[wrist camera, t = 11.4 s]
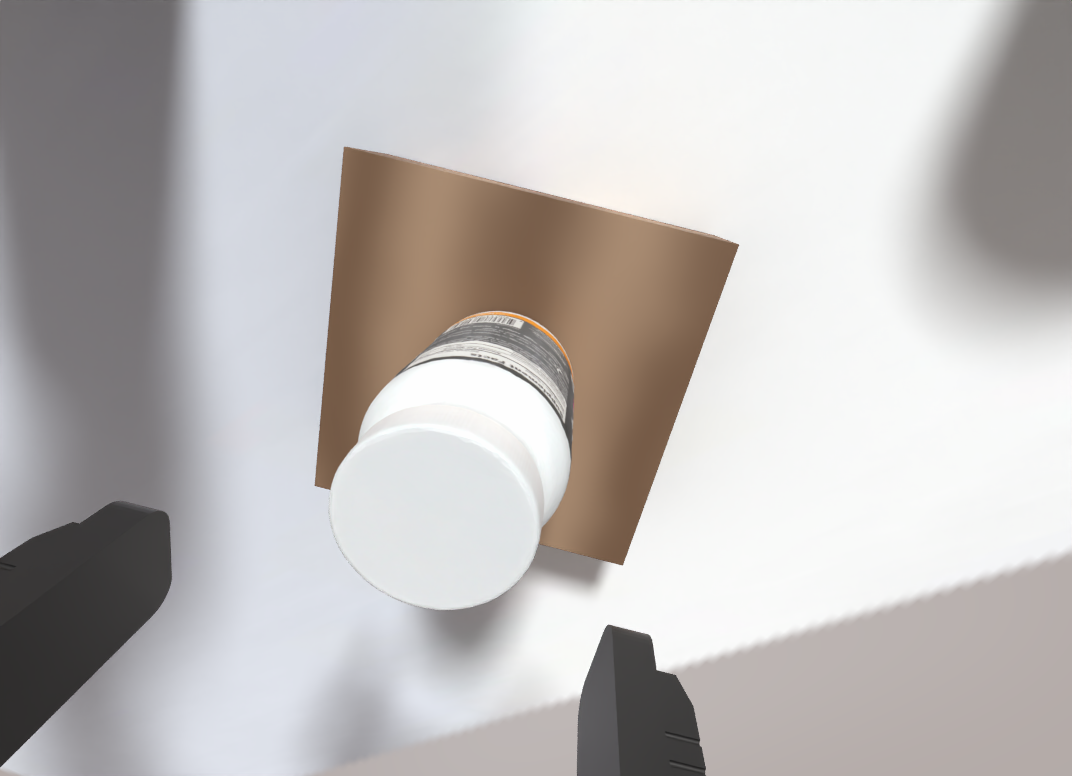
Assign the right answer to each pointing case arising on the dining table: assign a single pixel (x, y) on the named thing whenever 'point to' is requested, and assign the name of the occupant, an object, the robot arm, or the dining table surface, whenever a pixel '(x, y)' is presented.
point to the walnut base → (532, 291)
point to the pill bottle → (459, 465)
